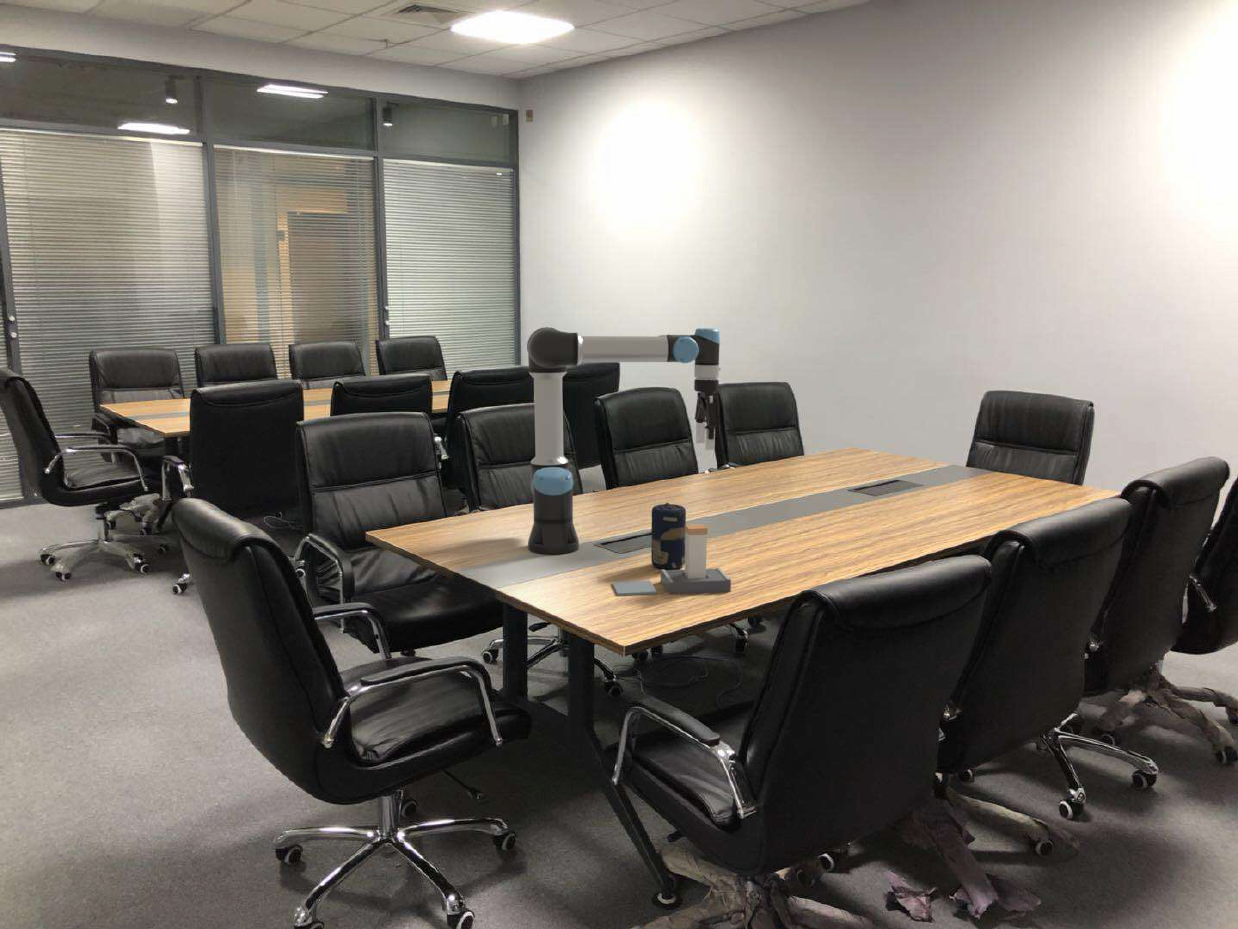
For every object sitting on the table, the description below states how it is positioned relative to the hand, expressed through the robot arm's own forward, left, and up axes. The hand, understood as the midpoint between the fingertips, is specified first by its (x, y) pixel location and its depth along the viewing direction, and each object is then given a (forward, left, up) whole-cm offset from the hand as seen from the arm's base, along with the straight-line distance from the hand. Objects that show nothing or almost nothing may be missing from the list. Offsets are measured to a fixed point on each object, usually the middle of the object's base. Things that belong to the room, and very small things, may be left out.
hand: (705, 446), depth 304 cm
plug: (-16, -57, -28) cm, 65 cm away
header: (-16, -57, -28) cm, 65 cm away
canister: (-19, -37, -28) cm, 50 cm away
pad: (-32, -57, -28) cm, 71 cm away
